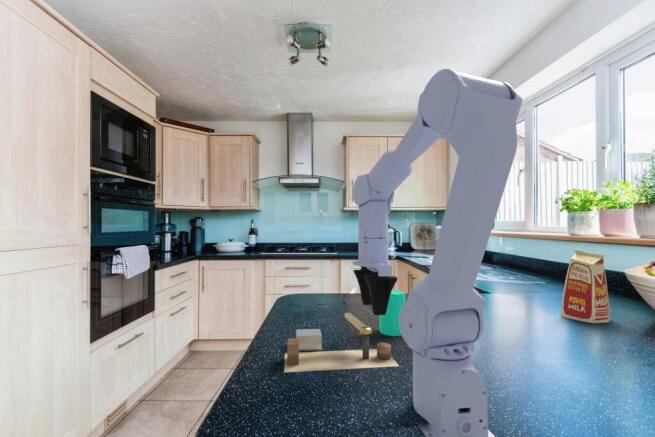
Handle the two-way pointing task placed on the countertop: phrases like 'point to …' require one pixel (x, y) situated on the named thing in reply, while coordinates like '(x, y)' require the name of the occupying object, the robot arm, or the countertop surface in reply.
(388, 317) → the candle
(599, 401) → the countertop surface
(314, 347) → the frosted white cube
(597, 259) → the milk carton
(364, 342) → the wooden tray with blocks
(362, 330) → the lever
